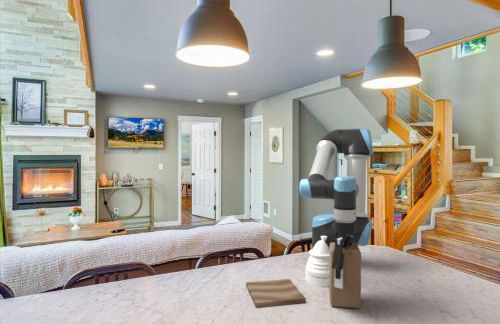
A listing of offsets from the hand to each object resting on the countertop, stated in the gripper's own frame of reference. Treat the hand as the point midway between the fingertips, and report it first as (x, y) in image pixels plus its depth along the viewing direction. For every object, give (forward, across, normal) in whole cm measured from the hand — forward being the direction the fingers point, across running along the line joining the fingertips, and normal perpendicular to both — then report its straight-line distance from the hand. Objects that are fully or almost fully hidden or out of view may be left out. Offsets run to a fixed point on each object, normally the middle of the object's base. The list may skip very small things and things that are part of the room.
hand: (344, 281), depth 114 cm
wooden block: (+8, 0, 0) cm, 8 cm away
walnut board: (+7, -8, +24) cm, 26 cm away
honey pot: (+8, +14, +14) cm, 21 cm away
